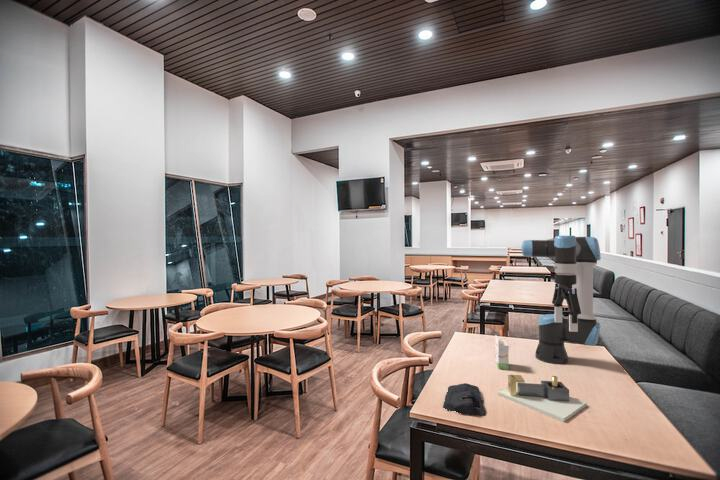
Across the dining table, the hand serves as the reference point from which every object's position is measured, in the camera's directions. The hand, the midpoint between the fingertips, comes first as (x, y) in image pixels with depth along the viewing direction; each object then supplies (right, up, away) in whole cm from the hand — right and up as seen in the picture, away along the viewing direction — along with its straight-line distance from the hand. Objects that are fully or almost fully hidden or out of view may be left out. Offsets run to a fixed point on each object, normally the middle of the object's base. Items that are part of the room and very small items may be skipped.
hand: (565, 326), depth 134 cm
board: (-11, -29, -1) cm, 31 cm away
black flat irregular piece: (-41, -30, -1) cm, 51 cm away
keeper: (-19, -29, +1) cm, 34 cm away
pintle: (-5, -28, -1) cm, 28 cm away
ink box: (-11, -29, +34) cm, 46 cm away
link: (-10, -28, 0) cm, 29 cm away
